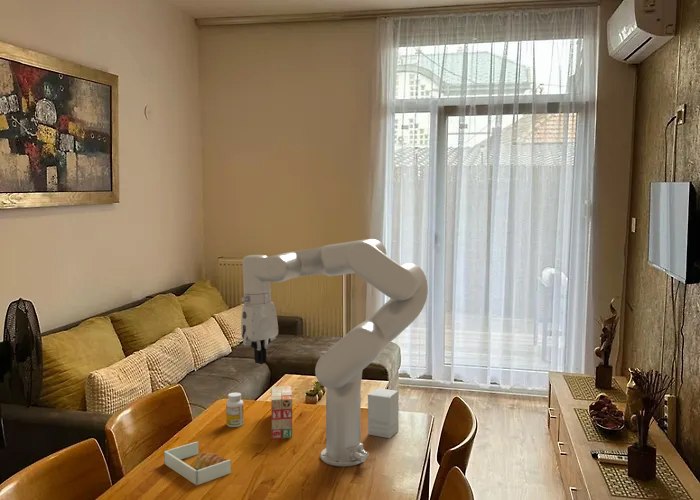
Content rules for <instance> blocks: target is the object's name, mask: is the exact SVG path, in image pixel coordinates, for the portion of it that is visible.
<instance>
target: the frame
mask: <svg viewBox="0 0 700 500" xmlns="http://www.w3.org/2000/svg"><path fill="white" fill-rule="evenodd" d="M199 454H200V453H199V441H194V442H190V443H187V444H184V445H180V446H177V447H174V448H171V449H168V450H164V451H163V460H164V463H163V464H164V465H166V466H167V467H168V468H170V469H171V470H173V472H176V473H177V474H179V475H180V476H181V477H183V478H185V479H186V480H188V481H189V482H191V483H192V484H193V485H195V486H199V485H201V484H204V483H207V482H211V481H212V480H215V479H217V478H218V479H219V478H221V477H224V476H227V475H229V474H231V472H232V471H231V470H232V467H231V459H227V460H226V461H223V462H220V463H217V464H215V465H212V466H209V467H206V468H203V469H200V470H197V469H196V468H195V467H192V466H191V465H190V464H188V463H186V462H184V461H183V460H184V459H188V458H191V457H194V456H197V455H199Z"/></svg>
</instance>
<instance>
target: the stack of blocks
mask: <svg viewBox="0 0 700 500" xmlns="http://www.w3.org/2000/svg"><path fill="white" fill-rule="evenodd" d="M270 389H271V395H270V396H271V397H270V398H271V399H270V400H271V401H270V403H271V409H270V410H271V413H270V414H271V439H272V440H276V439H277V440H279V439H292V438H293V394H292V393H293V392H292V386H291V385H287V386H285V385H283V386H271V388H270Z"/></svg>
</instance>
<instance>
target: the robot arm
mask: <svg viewBox="0 0 700 500" xmlns="http://www.w3.org/2000/svg"><path fill="white" fill-rule="evenodd" d="M351 274H356V275H357V276H358V277H360V278H361V279H363V280H364V281H365V282H367V283H368V284H369V285H371V286H372V287H374V288H375V289H377V291H379V292H381V293H382V294H383V295H385V296H387V298H390V299H389V300H387V301H386V302H385V303H384V304H383V305H382V306H381V307H379V309H377V311H376V312H374V313H373V314H372V315H370V316H369V317H368V318H367V319H366V320H363V322H361V323H359V324H357V325H356V326H355V327H352V329H351V330H349V331H348V332H347V333H346V334H345V335H344V336H343V337H342V338H340V339H339V340H338V341H337V342H336V343H335V344H334V345H332V347H331V348H329V349H328V350H327V351H325V353H324V354H322V355H321V356H320V357H319V359H318V360H317V362H316V364H315V371H314V374H315V378H316V381H317V382H318V383H319V384H320V385H321V386H322V387H324V388H326V390H325V439H326V440H325V446H326V447H325V448H324V449H323V450H321V452H320V460H321V461H323V462H324V463H325V464H327V465H329V466H333V467H334V466H335V467H351V466H352V467H353V466H356V465H359V464H361V463H365V462H366V460H367V458H368V457H369V455H370V453H369V452H368V451H366V450H365V449H364V443H362V442H361V441H362V440H361V438H362V437H361V436H362V435H361V433H362V430H361V429H362V427H361V423H362V422H361V411H362V410H361V406H362V405H361V402H362V397H361V396H362V378H363V370H364V369H366V368H367V367H368V366H369V365H370V364H371V363H373V362H374V361H375V360H376V359H377V358H378V357H379V356H380V355H381V354H382V353H383V352H384V350H385V349H387V346H389V344H390V343H392V342H393V341H394V340H395V339H396V338H397V337H398V336H400V334H401V333H403V331H405V329H407V328H408V327H409V326H410V325H411V324H412V323H413V322H415V320H416V319H417V318H418V316H419V315H420V314H421V312H422V311H423V309H424V306H425V305H426V302H427V300H428V291H429V289H428V288H429V287H428V280H427V277H426V275H425V273H424V270H423V269H422V267H420V266H419V265H417V264H415V263H411V262H405V263H400V264H399V263H398V262H396V261H395V260H393V259H392V258H391V257H389V256H387V249H386V246H385V245H384V244H383V243H382V241H380V240H378V239H375V238H368V239H367V238H366V239H359V240H353V241H346V242H340V243H333V244H327V245H323V246H320V247H315V248H308V249H301V250H294V251H287V252H283V253H279V254H274V255H270V256H268V255H265V254H248V255H246V256H244V257H243V258H242V278H243V281H242V282H243V297H242V296H241V299H240V300H241V302H242V303H244V304H243V305H242V310H241V317H240V318H241V320H240V321H241V323H240V331H241V338H242V345H243V346H248V347H251V349H252V350H253V351H254V352H253V353H254V354H253V355H254V363H256V364H260V365H263V364H267V349H268V348H269V344H270V343H271V342H273V341H274V340H276V338H277V336H278V335H279V325H278V324H279V323H278V315H277V309H276V306H275V302H273V301H272V287H271V283H276V284H277V283H283V282H286V281H288V280H291V279H295V278H301V277H306V276H314V275H325V276H327V277H336V276H343V275H351Z"/></svg>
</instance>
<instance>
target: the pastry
mask: <svg viewBox="0 0 700 500" xmlns="http://www.w3.org/2000/svg"><path fill="white" fill-rule="evenodd" d="M226 460H228V459H226V458H224V456H221V455H219V454H218V453H214V452H209V453H208V452H206V451H204V452H203V451H202V452H201V453H199V454H198V456H197V457H196V458H195V461H194V465H193V466H194V467H193V468H194V469H196V470H200V469H203V468H206V467H209V466H212V465H215V464H217V463H220V462H223V461H226Z"/></svg>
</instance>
